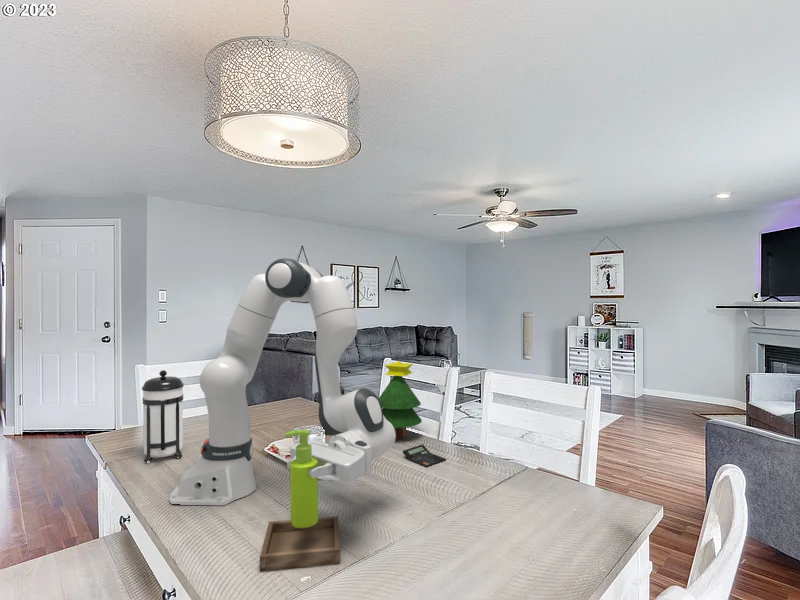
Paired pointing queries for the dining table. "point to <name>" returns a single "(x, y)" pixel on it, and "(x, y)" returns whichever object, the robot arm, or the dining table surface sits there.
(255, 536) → the dining table surface
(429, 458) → the calculator
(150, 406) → the coffee press
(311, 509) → the soap dispenser
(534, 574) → the dining table surface
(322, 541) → the holder tray
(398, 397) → the decorative tree
